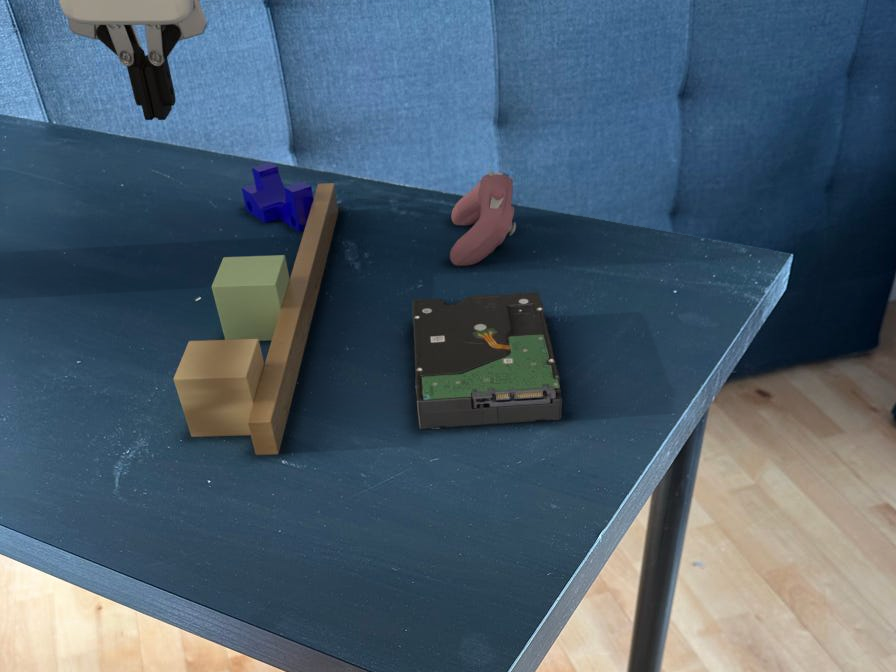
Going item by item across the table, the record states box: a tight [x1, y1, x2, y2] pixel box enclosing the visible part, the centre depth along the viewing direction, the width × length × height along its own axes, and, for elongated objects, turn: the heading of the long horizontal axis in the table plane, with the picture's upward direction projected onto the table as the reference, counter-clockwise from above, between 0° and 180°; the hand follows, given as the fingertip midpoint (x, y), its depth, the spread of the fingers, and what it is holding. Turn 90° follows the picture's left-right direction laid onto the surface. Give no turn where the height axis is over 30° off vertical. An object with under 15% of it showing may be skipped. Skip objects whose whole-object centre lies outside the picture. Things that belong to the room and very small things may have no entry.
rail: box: [248, 182, 339, 456], centre depth 77 cm, size 2×40×3 cm, turn 0°
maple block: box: [173, 339, 265, 438], centre depth 66 cm, size 5×5×5 cm
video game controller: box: [449, 169, 517, 267], centre depth 84 cm, size 10×5×7 cm, turn 0°
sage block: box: [211, 254, 290, 342], centre depth 75 cm, size 5×5×5 cm
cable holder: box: [241, 161, 314, 233], centre depth 90 cm, size 8×4×4 cm, turn 37°
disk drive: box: [411, 291, 563, 430], centre depth 70 cm, size 10×3×15 cm
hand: (158, 114), depth 79 cm, fingers closed
